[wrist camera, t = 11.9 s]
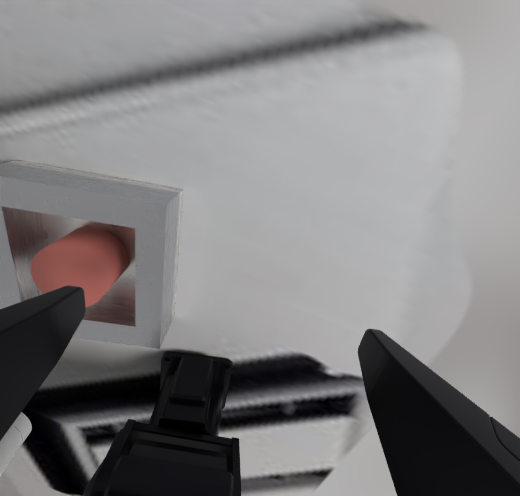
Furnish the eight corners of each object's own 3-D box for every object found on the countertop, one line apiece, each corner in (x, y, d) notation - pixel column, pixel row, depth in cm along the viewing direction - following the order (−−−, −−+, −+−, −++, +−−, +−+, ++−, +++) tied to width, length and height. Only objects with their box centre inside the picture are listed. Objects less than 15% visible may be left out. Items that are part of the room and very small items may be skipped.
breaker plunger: (128, 285, 21) (106, 312, 18) (68, 276, 21) (36, 302, 18) (127, 231, 19) (103, 252, 16) (61, 221, 19) (25, 240, 16)
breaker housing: (174, 314, 24) (159, 348, 20) (41, 295, 23) (0, 328, 20) (183, 189, 20) (166, 205, 16) (18, 160, 19) (-40, 169, 15)
